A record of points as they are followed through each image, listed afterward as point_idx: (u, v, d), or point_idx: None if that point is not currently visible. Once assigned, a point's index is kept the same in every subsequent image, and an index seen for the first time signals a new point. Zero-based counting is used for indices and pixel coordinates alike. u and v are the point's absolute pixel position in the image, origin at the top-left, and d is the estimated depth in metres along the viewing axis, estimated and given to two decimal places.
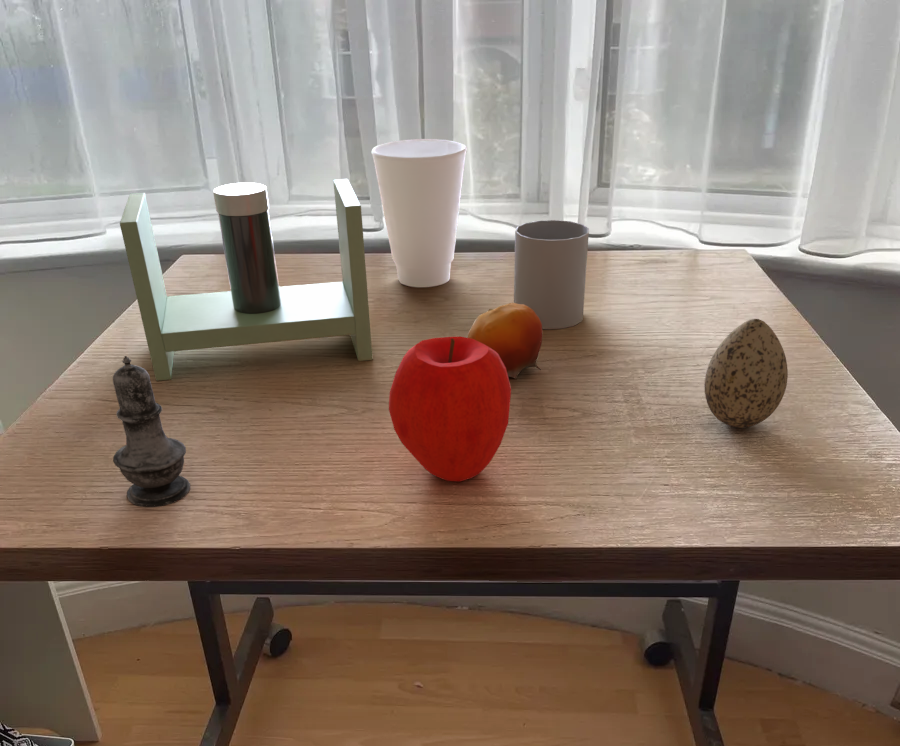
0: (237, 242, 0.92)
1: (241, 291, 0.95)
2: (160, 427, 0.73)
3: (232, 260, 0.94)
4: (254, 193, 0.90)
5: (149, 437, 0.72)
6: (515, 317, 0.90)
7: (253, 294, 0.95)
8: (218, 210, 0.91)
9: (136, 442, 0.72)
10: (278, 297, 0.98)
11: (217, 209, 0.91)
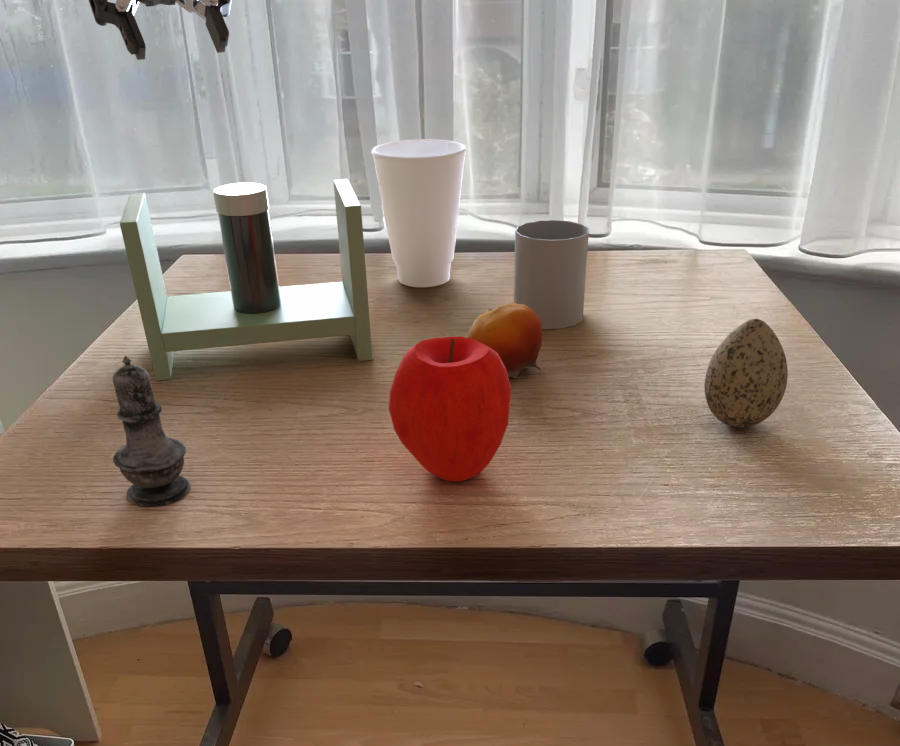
0: (237, 242, 0.92)
1: (241, 291, 0.95)
2: (160, 427, 0.73)
3: (232, 260, 0.94)
4: (254, 193, 0.90)
5: (149, 437, 0.72)
6: (515, 317, 0.90)
7: (253, 294, 0.95)
8: (218, 210, 0.91)
9: (136, 442, 0.72)
10: (278, 297, 0.98)
11: (217, 209, 0.91)
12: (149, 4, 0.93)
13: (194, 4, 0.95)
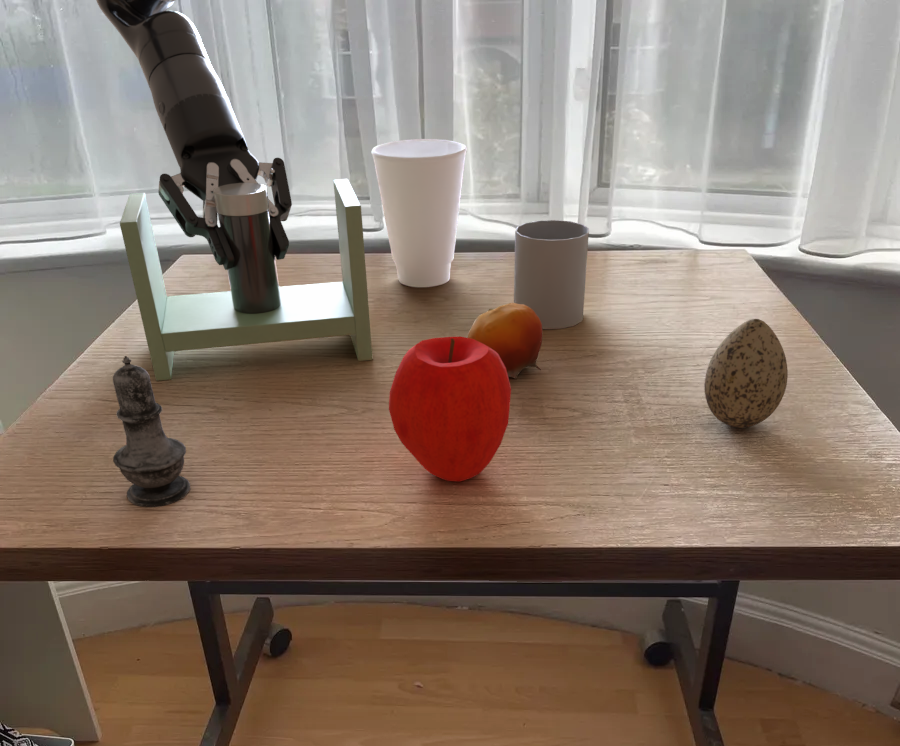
0: (237, 242, 0.92)
1: (241, 291, 0.95)
2: (160, 427, 0.73)
3: None
4: (254, 193, 0.90)
5: (149, 437, 0.72)
6: (515, 317, 0.90)
7: (253, 294, 0.95)
8: (218, 210, 0.91)
9: (136, 442, 0.72)
10: (278, 297, 0.98)
11: (217, 209, 0.91)
12: None
13: None
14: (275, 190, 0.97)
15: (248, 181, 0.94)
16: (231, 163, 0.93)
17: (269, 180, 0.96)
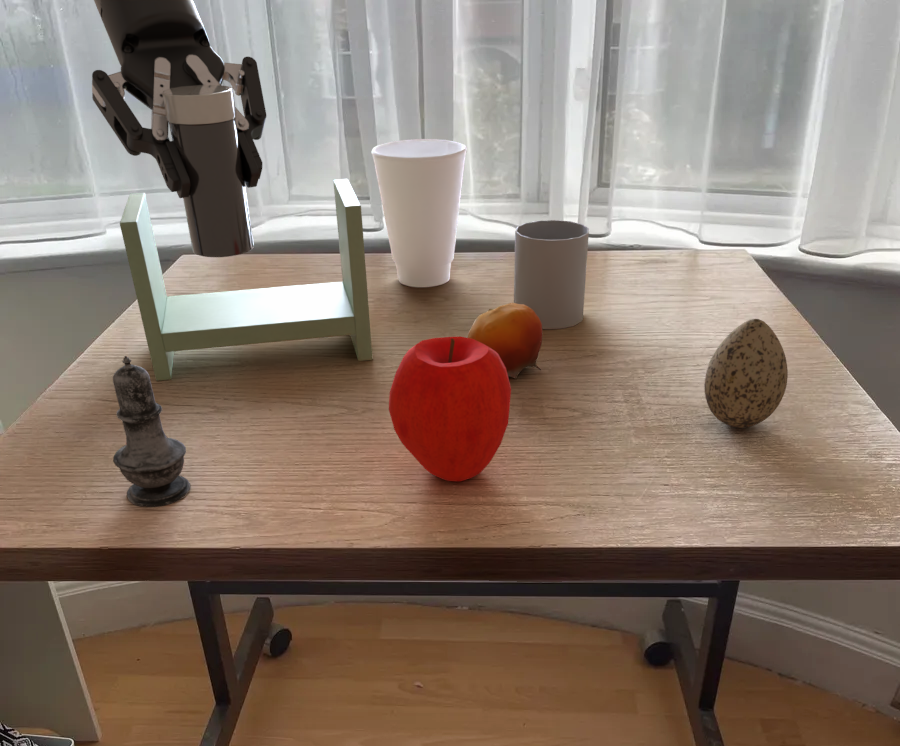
0: (194, 161, 0.71)
1: (201, 228, 0.74)
2: (160, 427, 0.73)
3: None
4: (215, 94, 0.69)
5: (149, 437, 0.72)
6: (515, 317, 0.90)
7: (216, 231, 0.74)
8: (169, 117, 0.70)
9: (136, 442, 0.72)
10: (249, 237, 0.76)
11: (167, 116, 0.70)
12: None
13: None
14: (245, 99, 0.75)
15: (209, 84, 0.73)
16: (187, 60, 0.72)
17: (238, 86, 0.75)
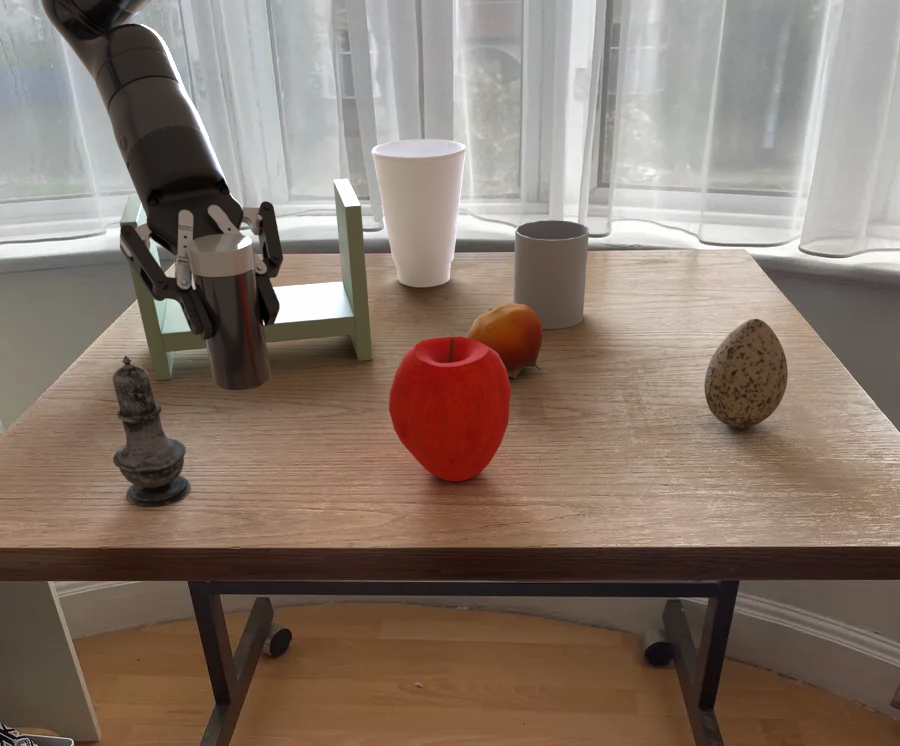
0: (215, 308, 0.75)
1: (222, 365, 0.79)
2: (160, 427, 0.73)
3: None
4: (236, 249, 0.73)
5: (149, 437, 0.72)
6: (515, 317, 0.90)
7: (236, 368, 0.79)
8: (192, 269, 0.74)
9: (136, 442, 0.72)
10: (267, 369, 0.81)
11: (191, 268, 0.74)
12: None
13: None
14: (263, 241, 0.80)
15: (229, 232, 0.77)
16: (209, 210, 0.76)
17: (256, 229, 0.79)
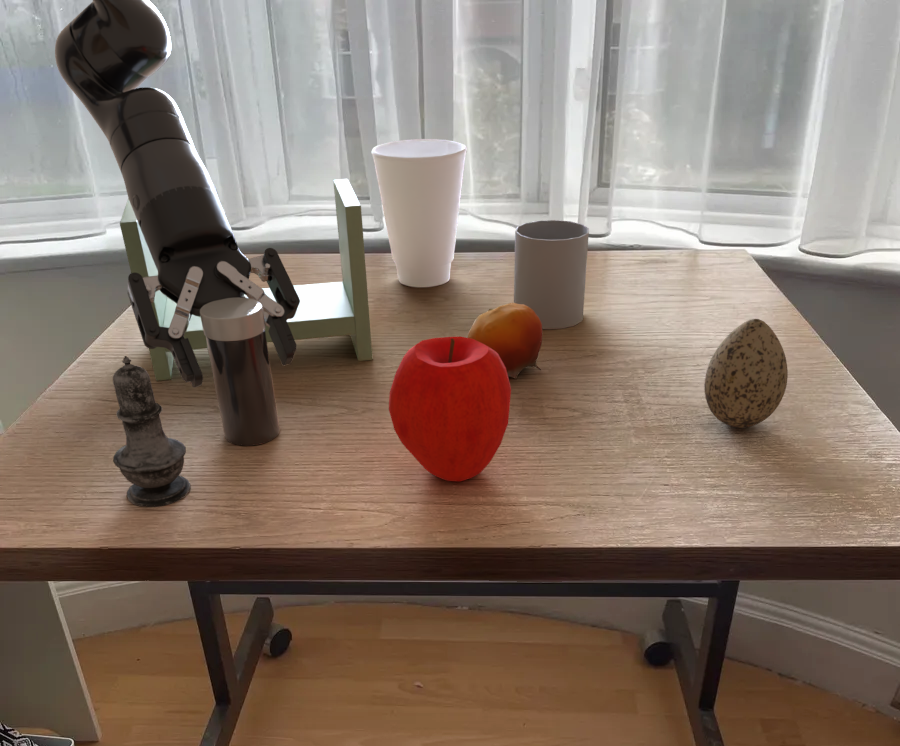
0: (228, 369, 0.79)
1: (233, 422, 0.82)
2: (160, 427, 0.73)
3: (222, 388, 0.80)
4: (248, 315, 0.76)
5: (149, 437, 0.72)
6: (515, 317, 0.90)
7: (247, 425, 0.82)
8: (205, 333, 0.78)
9: (136, 442, 0.72)
10: (276, 425, 0.84)
11: (204, 332, 0.78)
12: None
13: None
14: (275, 286, 0.83)
15: (242, 283, 0.80)
16: (218, 266, 0.79)
17: (266, 277, 0.82)
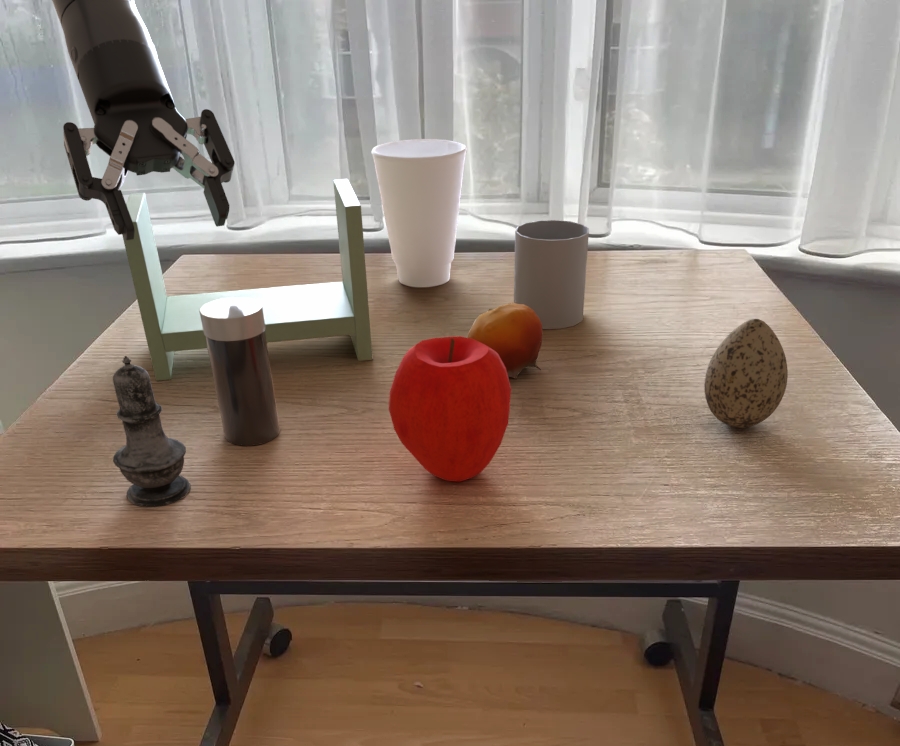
0: (228, 369, 0.79)
1: (233, 422, 0.82)
2: (160, 427, 0.73)
3: (222, 388, 0.80)
4: (248, 315, 0.76)
5: (149, 437, 0.72)
6: (515, 317, 0.90)
7: (247, 425, 0.82)
8: (205, 333, 0.78)
9: (136, 442, 0.72)
10: (276, 425, 0.84)
11: (204, 332, 0.78)
12: (140, 173, 0.83)
13: (191, 171, 0.84)
14: (211, 148, 0.85)
15: (177, 141, 0.82)
16: (153, 122, 0.81)
17: (202, 138, 0.85)
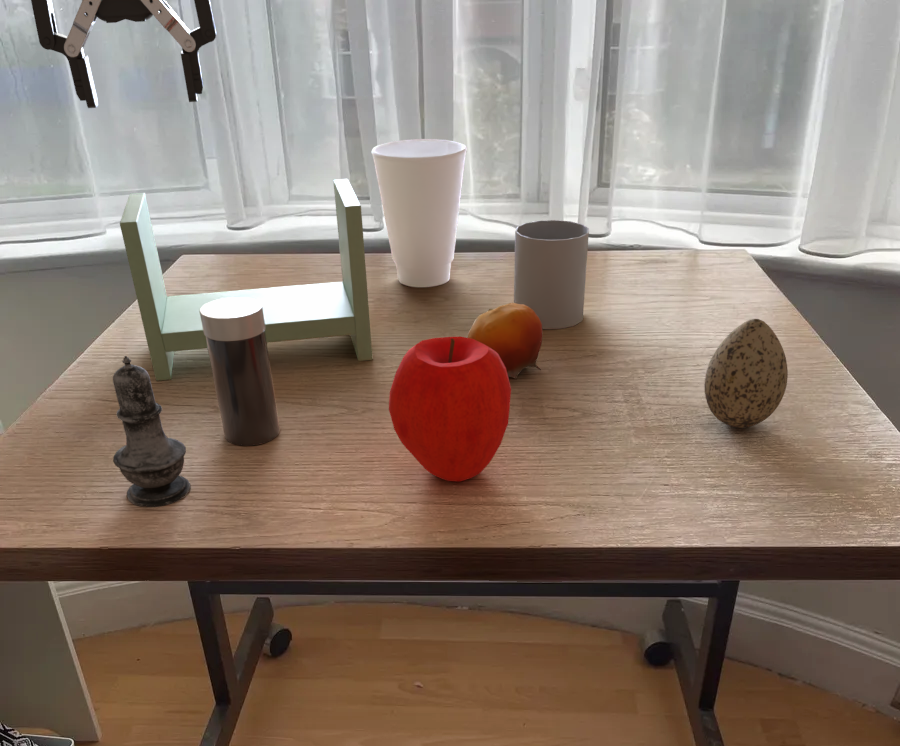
0: (228, 369, 0.79)
1: (233, 422, 0.82)
2: (160, 427, 0.73)
3: (222, 388, 0.80)
4: (248, 315, 0.76)
5: (149, 437, 0.72)
6: (515, 317, 0.90)
7: (247, 425, 0.82)
8: (205, 333, 0.78)
9: (136, 442, 0.72)
10: (276, 425, 0.84)
11: (204, 332, 0.78)
12: None
13: None
14: None
15: (152, 5, 0.73)
16: None
17: None
